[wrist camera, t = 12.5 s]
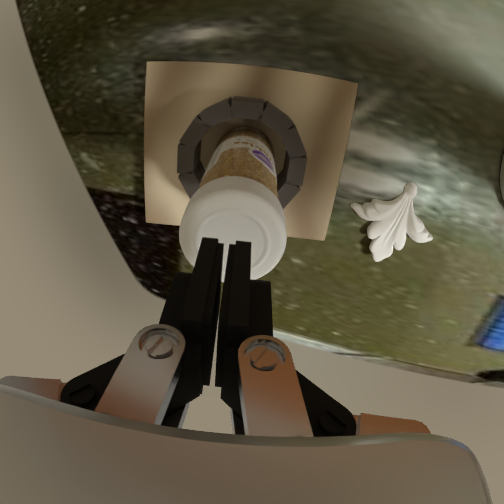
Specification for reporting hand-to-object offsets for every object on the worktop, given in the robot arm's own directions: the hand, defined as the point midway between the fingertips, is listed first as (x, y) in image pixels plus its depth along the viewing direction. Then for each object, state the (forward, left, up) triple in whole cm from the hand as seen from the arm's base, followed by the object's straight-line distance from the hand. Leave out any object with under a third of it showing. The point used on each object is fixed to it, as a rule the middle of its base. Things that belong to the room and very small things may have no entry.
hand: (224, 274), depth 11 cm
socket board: (0, 0, -17) cm, 17 cm away
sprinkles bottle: (0, 0, -16) cm, 16 cm away
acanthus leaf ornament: (-15, +5, -18) cm, 24 cm away
